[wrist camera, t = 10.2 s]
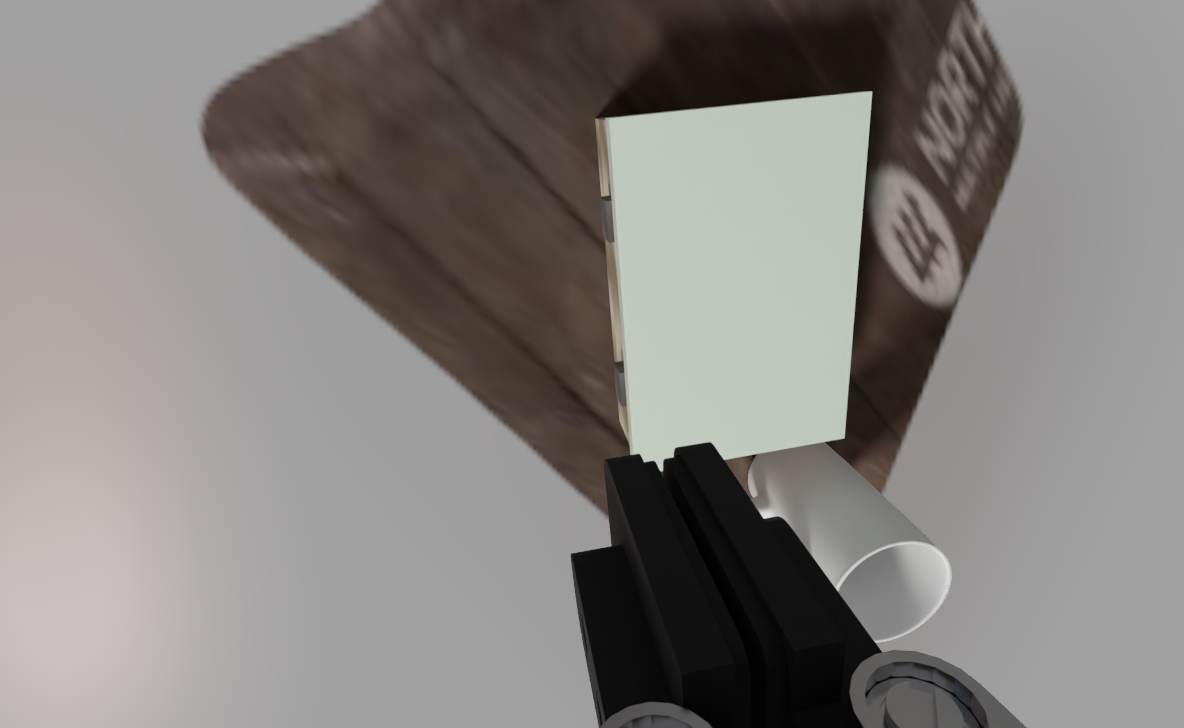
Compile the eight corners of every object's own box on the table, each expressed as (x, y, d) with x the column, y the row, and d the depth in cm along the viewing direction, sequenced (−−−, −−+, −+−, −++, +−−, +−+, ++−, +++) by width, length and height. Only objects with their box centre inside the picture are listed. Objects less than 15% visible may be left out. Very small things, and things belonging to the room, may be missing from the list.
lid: (605, 117, 28) (609, 118, 28) (862, 91, 30) (872, 91, 29) (631, 468, 36) (634, 475, 35) (837, 431, 37) (844, 438, 36)
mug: (839, 421, 43) (961, 531, 32) (831, 503, 46) (942, 630, 35) (696, 443, 42) (773, 564, 31) (697, 526, 45) (768, 665, 34)
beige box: (583, 119, 33) (599, 122, 29) (811, 96, 34) (860, 96, 30) (610, 422, 40) (626, 461, 36) (798, 392, 42) (835, 427, 37)
